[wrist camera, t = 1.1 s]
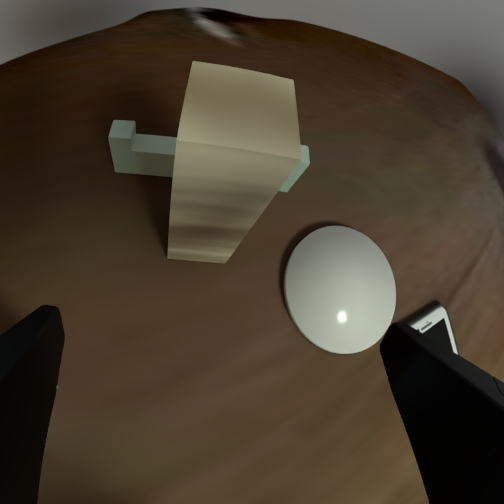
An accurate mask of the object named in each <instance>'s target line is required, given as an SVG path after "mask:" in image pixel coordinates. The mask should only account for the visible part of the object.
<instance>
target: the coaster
mask: <svg viewBox="0 0 504 504" xmlns="http://www.w3.org/2000/svg"><path fill="white" fill-rule="evenodd" d="M283 289H284V298H285V303H286V307H287V310H288V312H289V315H290V317H291V319H292V321H293V323H294V324H295V326H296V328H297V329H298V330H299V332H300V333H301V334H302V335H303V336H304V337H305V338H306V339H307V340H308V341H309V342H310V343H312V344H313V345H315V346H316V347H318V348H320V349H322V350H325V351H328V352H331V353H338V354H350V353H356V352H360V351H362V350H365V349H367V348H369V347H371V346H372V345H373V344H375V343H376V342H377V341H378V340H379V339H380V338H381V337H382V336H383V334H384V333H385V332H386V330H387V328H388V327H389V325H390V322H391V320H392V317H393V314H394V310H395V304H396V288H395V281H394V277H393V273H392V270H391V268H390V265H389V263H388V261H387V259H386V258H385V256H384V254H383V253H382V251H381V250H380V249H379V247H378V246H377V245H376V244H375V243H374V242H373V241H372V240H370V239H369V238H368V237H367V236H365V235H364V234H362V233H360V232H358V231H356V230H354V229H351V228H348V227H343V226H327V227H323V228H320V229H318V230H315V231H314V232H312V233H310V234H309V235H307V236H306V237H305V238H304V239H303V240H302V241H300V242H299V244H298V245H297V246H296V247H295V248H294V250H293V252H292V253H291V255H290V257H289V259H288V261H287V265H286V268H285V273H284V282H283Z"/></svg>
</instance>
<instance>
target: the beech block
mask: <svg viewBox="0 0 504 504" xmlns="http://www.w3.org/2000/svg"><path fill="white" fill-rule="evenodd" d="M300 161H301V148H300V137H299V126H298V116H297V107H296V98H295V89H294V80H291V79H287V78H282V77H278V76H274V75H270V74H265V73H260V72H256V71H251V70H246V69H240V68H235V67H229V66H223V65H217V64H210V63H203V62H195V61H193V63H192V67H191V72H190V76H189V80H188V85H187V90H186V94H185V99H184V104H183V109H182V114H181V119H180V124H179V130H178V135H177V141H176V150H175V160H174V170H173V180H172V192H171V205H170V219H169V235H168V256H167V258H169V259H180V260H191V261H203V262H214V263H226V262H227V260H228V259H229V258H230V256H231V255H232V254H233V252H234V251H235V249H236V248H237V247H238V245H239V244H240V243H241V241H242V240H243V238H244V237H245V236H246V234H247V233H248V232H249V230H250V229H251V227H252V226H253V225H254V223H255V222H256V221H257V219H258V218H259V217H260V215H261V214H262V212H263V211H264V210H265V208H266V207H267V206H268V204H269V203H270V202H271V200H272V199H273V198H274V196H275V195H276V193H277V192H278V191H279V189H280V188H281V187H282V185H283V184H284V183H285V181H286V180H287V179H288V177H289V176H290V175H291V173H292V172H293V171H294V169H295V168H296V166H297V165H298V164H299V162H300Z"/></svg>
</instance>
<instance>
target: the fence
mask: <svg viewBox="0 0 504 504" xmlns="http://www.w3.org/2000/svg"><path fill="white" fill-rule="evenodd" d="M108 139H109V144H110V149H111V155H112V160H113V165H114V169H115V172H119V173H131V174H143V175H154V176H165V177H173V170H174V160H175V150H176V141H177V137H167V136H157V135H145V134H136V125H135V121H126V120H114V121H113V124H112V127H111V130H110V133H109V137H108ZM300 148H301V161H300V162H299V164H298V165H297V166H296V168H295V169H294V171H293V172H292V173H291V175H290V176H289V177H288V179H287V180H286V181H285V183H284V184H283V185H282V187H281V188H280V189H279V191H282V192H288V190H289V189H290V188H291V187H292V185H293V184H294V183H295V182H296V180H297V179H298V178H299V177H300V175H301V174H302V173H303V172H304V170H305V169H306V168H307V167H308V165H309V164H310V161H309V151H308V146H303V145H300Z"/></svg>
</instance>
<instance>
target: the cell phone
mask: <svg viewBox="0 0 504 504" xmlns="http://www.w3.org/2000/svg"><path fill="white" fill-rule="evenodd" d="M406 324H408V325H409V326H411V327H413V328H414V329H416V330H418V331H419V332H421V333H423V334H424V335H426V336H428V337H429V338H431V339H433V340H434V341H436V342H438V343H439V344H441V345H443V346H444V347H446V348H448V349H449V350H451V351H453V352H454V353H456V354H458V355H459V352H458V347H457V343H456V339H455V336H454V332H453V328H452V325H451V321H450V318H449V314H448V312H447V309H446V307H445V305H443V304H437V305H434V306H432V307H431V308H429V309H428V310H426V311H425V312H423V313H422V314H420V315H418V316H417V317H415V318H414V319H412V320H411V321H409V322H407V323H406Z"/></svg>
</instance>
